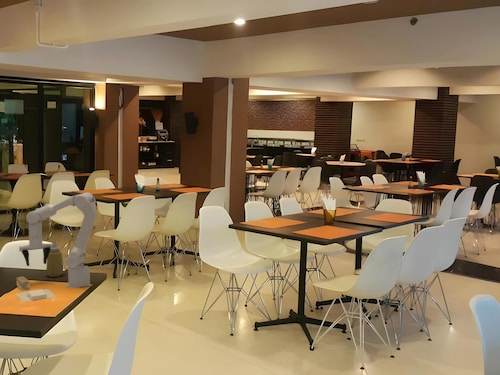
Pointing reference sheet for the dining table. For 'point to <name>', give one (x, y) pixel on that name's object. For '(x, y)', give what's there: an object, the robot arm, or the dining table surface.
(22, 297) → the mat
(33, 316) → the dining table surface
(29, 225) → the robot arm
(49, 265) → the squeeze bottle
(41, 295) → the tile
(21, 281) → the wooden bar
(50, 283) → the dining table surface
